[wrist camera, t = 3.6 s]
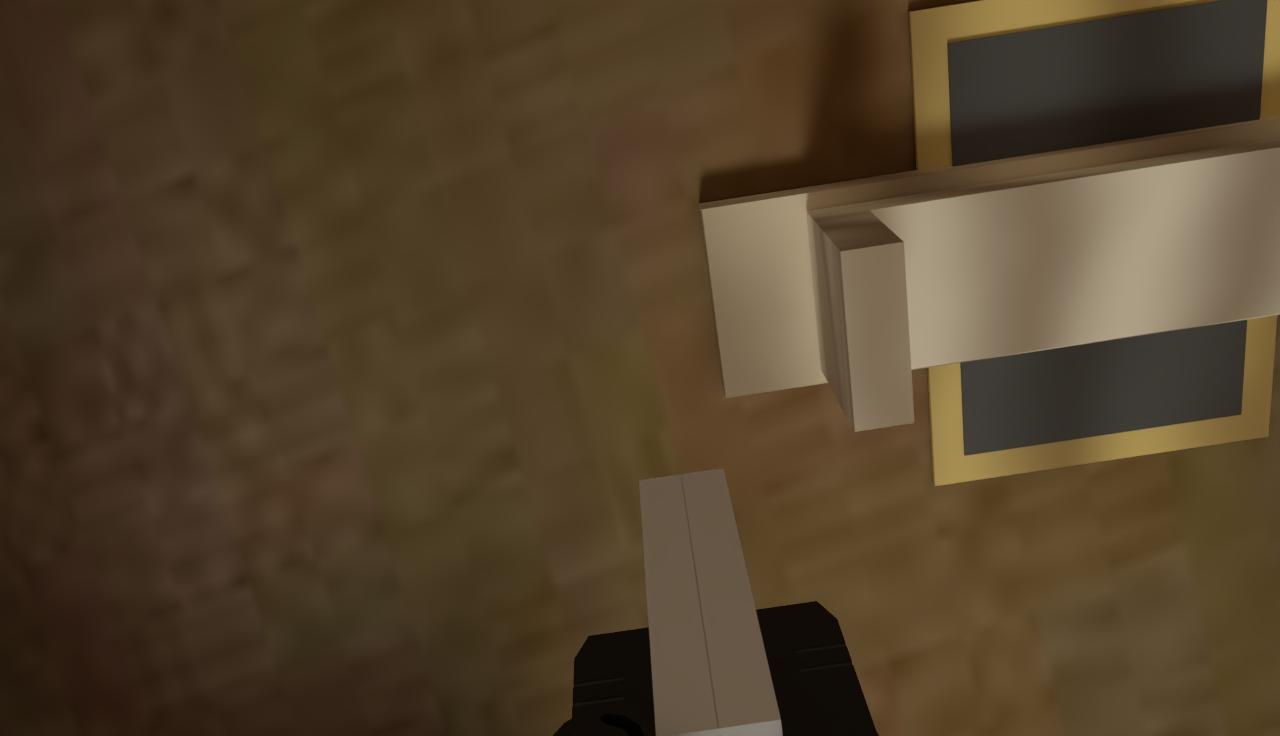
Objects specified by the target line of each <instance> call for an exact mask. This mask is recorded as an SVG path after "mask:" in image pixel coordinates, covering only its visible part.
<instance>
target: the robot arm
mask: <svg viewBox="0 0 1280 736" xmlns="http://www.w3.org/2000/svg"><path fill="white" fill-rule="evenodd" d="M639 485H640V501H641V516H642V531H643V546H644V561H645V577H646V592H647V607H648V622H649V627H648V628H641V629H634V630H627V631H620V632H613V633H606V634H599V635H592V636H588V638H587V640H586V641H585V643H584V644H583V646H582V648H581V649H580V651H579V653H578V654H577V656H576V657H575V659H574V687H573V707H572V719H570V720H569V721H567V722H565V723H564V724H563V725H562V726H561V727H560V728H559V730H558V731H557V732H556V733H555V734H554V735H553V736H879V735H878V733H877V732H876V729H875V726H874V723H873V721H872V718H871V715H870V712H869V709H868V706H867V703H866V700H865V698H864V695H863V692H862V689H861V686H860V683H859V680H858V678H857V675H856V672H855V669H854V666H853V665H852V660H851V657H850V655H849V652H848V649H847V646H846V644H845V640H844V637H843V634H842V632H841V629H840V626H839V623H838V620H837V619H836V618H835V617H834V616H833V615H832V614H831V613H830V612H828V611H827V610H826V609H825V608H824V607H823V606H822V605H820V604H819V603H818V602H817V601H815V602H808V603H801V604H793V605H786V606H779V607H772V608H765V609H758V610H756V609H755V605H754V600H753V596H752V592H751V587H750V583H749V579H748V574H747V570H746V565H745V561H744V557H743V552H742V548H741V544H740V539H739V535H738V531H737V526H736V522H735V518H734V513H733V509H732V504H731V500H730V496H729V491H728V487H727V483H726V478H725V474H724V470H723V468H722V469H715V470H708V471H701V472H694V473H687V474H681V475H674V476H667V477H660V478H653V479H646V480H639Z"/></svg>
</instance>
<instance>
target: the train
mask: <svg viewBox="0 0 1280 736" xmlns="http://www.w3.org/2000/svg"><path fill="white" fill-rule="evenodd" d="M806 212H807V223H808V234H809V245H810V256H811V266H812V277H813V288H814V299H815V310H816V321H817V331H818V342H819V353H820V364H821V371H822V373H823V374H824V376H825V378H826V380H827V382H828V383H829V385H830V387H831V389H832V391H833V393H834V394H835V396H836V398H837V400H838V402H839V404H840V405H841V407H842V409H843V411H844V413H845V414H846V416H847V418H848V420H849V422H850V424H851V425H852V427H853V429H854V431H855V432H856V431H863V430H870V429H876V428H883V427H890V426H896V425H903V424H910V423H914V406H913V389H912V372H911V369H916V368H923V367H930V366H936V365H943V364H949V363H956V362H963V361H969V360H976V359H983V358H989V357H996V356H1002V355H1009V354H1016V353H1022V352H1029V351H1036V350H1042V349H1049V348H1056V347H1062V346H1069V345H1075V344H1082V343H1089V342H1095V341H1102V340H1109V339H1115V338H1122V337H1128V336H1135V335H1142V334H1148V333H1155V332H1162V331H1168V330H1175V329H1182V328H1188V327H1195V326H1201V325H1208V324H1215V323H1221V322H1228V321H1235V320H1241V319H1248V318H1254V317H1261V316H1268V315H1274V314H1280V138H1279V139H1273V140H1266V141H1260V142H1253V143H1247V144H1240V145H1234V146H1227V147H1221V148H1214V149H1208V150H1201V151H1195V152H1188V153H1182V154H1175V155H1169V156H1162V157H1155V158H1149V159H1142V160H1136V161H1129V162H1123V163H1116V164H1110V165H1103V166H1097V167H1090V168H1084V169H1077V170H1071V171H1064V172H1058V173H1051V174H1045V175H1038V176H1032V177H1025V178H1019V179H1012V180H1006V181H999V182H993V183H986V184H980V185H973V186H967V187H960V188H954V189H947V190H941V191H934V192H928V193H921V194H915V195H908V196H902V197H895V198H889V199H882V200H876V201H869V202H863V203H856V204H850V205H843V206H837V207H830V208H824V209H817V210H811V211H806Z"/></svg>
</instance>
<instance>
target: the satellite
mask: <svg viewBox="0 0 1280 736" xmlns="http://www.w3.org/2000/svg"><path fill="white" fill-rule="evenodd" d="M908 19H909V38H910V57H911V76H912V94H913V113H914V132H915V151H916V169H917V170H913V171H907V172H900V173H894V174H888V175H881V176H875V177H868V178H862V179H855V180H849V181H842V182H836V183H829V184H823V185H816V186H810V187H803V188H797V189H790V190H784V191H777V192H771V193H764V194H758V195H751V196H745V197H738V198H732V199H725V200H719V201H712V202H706V203H699V206H700V213H701V221H702V229H703V237H704V244H705V252H706V260H707V268H708V275H709V283H710V291H711V299H712V306H713V314H714V322H715V330H716V337H717V345H718V353H719V361H720V368H721V376H722V384H723V390H724V393H725V397H726V398H729V397H736V396H743V395H749V394H756V393H763V392H769V391H776V390H782V389H789V388H796V387H802V386H809V385H816V384H822V383H828V382H827V380H826V378H825V376H824V374H823V373H822V371H821V364H820V353H819V342H818V331H817V321H816V310H815V299H814V288H813V277H812V266H811V256H810V245H809V234H808V223H807V212H806V211H811V210H817V209H824V208H830V207H837V206H843V205H850V204H856V203H863V202H869V201H876V200H882V199H889V198H895V197H902V196H908V195H915V194H921V193H928V192H934V191H941V190H947V189H954V188H960V187H967V186H973V185H980V184H986V183H993V182H999V181H1006V180H1012V179H1019V178H1025V177H1032V176H1038V175H1045V174H1051V173H1058V172H1064V171H1071V170H1077V169H1084V168H1090V167H1097V166H1103V165H1110V164H1116V163H1123V162H1129V161H1136V160H1142V159H1149V158H1155V157H1162V156H1169V155H1175V154H1182V153H1188V152H1195V151H1201V150H1208V149H1214V148H1221V147H1227V146H1234V145H1240V144H1247V143H1253V142H1260V141H1266V140H1273V139H1279V138H1280V0H978V1H972V2H966V3H959V4H953V5H946V6H940V7H934V8H927V9H921V10H915V11H908ZM1277 315H1280V314H1274V315H1268V316H1261V317H1254V318H1248V319H1241V320H1235V321H1228V322H1221V323H1215V324H1208V325H1201V326H1195V327H1188V328H1182V329H1175V330H1168V331H1162V332H1155V333H1148V334H1142V335H1135V336H1128V337H1122V338H1115V339H1109V340H1102V341H1095V342H1089V343H1082V344H1075V345H1069V346H1062V347H1056V348H1049V349H1042V350H1036V351H1029V352H1022V353H1016V354H1009V355H1002V356H996V357H989V358H983V359H976V360H969V361H963V362H956V363H949V364H943V365H936V366H930V367H923V368H927V376H928V394H929V413H930V432H931V451H932V469H933V484H934V485H935V486H939V485H945V484H952V483H959V482H966V481H972V480H979V479H986V478H993V477H999V476H1006V475H1013V474H1019V473H1026V472H1033V471H1040V470H1046V469H1053V468H1060V467H1066V466H1073V465H1080V464H1087V463H1093V462H1100V461H1107V460H1114V459H1120V458H1127V457H1134V456H1140V455H1147V454H1154V453H1161V452H1167V451H1174V450H1181V449H1187V448H1194V447H1201V446H1208V445H1214V444H1221V443H1228V442H1235V441H1241V440H1248V439H1255V438H1261V437H1268V435H1269V421H1270V408H1271V394H1272V380H1273V367H1274V353H1275V340H1276V326H1277ZM916 369H922V368H916ZM911 370H915V369H911Z"/></svg>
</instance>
